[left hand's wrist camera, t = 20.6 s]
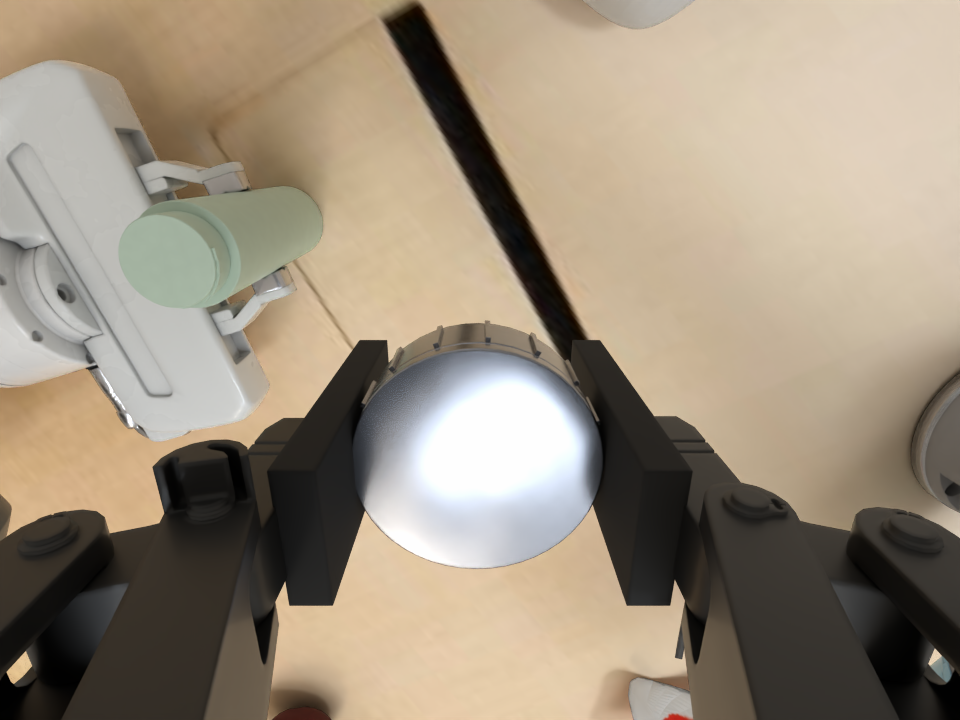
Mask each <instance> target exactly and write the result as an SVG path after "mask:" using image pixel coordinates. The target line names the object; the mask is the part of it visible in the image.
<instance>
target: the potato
mask: <svg viewBox="0 0 960 720" xmlns="http://www.w3.org/2000/svg"><path fill="white" fill-rule="evenodd" d="M272 720H331V719H330V718H329V717H328V716H327V715H326V714H325V713H324V712H322V711H321V710H318V709H315V708H310V707H301V708H294V709H288V710H286V711H284V712H282V713H280V714H278V715H277V716H276V717H275V718H273V719H272Z"/></svg>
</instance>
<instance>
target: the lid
mask: <svg viewBox="0 0 960 720" xmlns="http://www.w3.org/2000/svg"><path fill="white" fill-rule="evenodd" d="M360 407H361V408H363V410H362V412H361V415H360V417H359V419H358V421H357V423H356V426H355V430H354V433H353V436H352V452H353V462H354V472H355V482H356V491H357V495H358V497H359V500H360V502H361V504H362V506H363V508H364V509H365V511H366V512H367V514H368V515H369V517H370V518H371V520H372V521H373V522H374V523H375V524H376V525H377V527H378V528H379V529H380V530H381V531H382V532H383V533H384V534H385V535H386V536H388V537H389V538H390V539H391V540H392V541H394V542H395V543H396V544H398V545H399V546H401V547H402V548H404V549H405V550H407V551H409V552H411V553H413V554H415V555H417V556H419V557H421V558H424V559H426V560H429V561H432V562H435V563H439V564H442V565H446V566H452V567H458V568H469V569H486V568H496V567H503V566H508V565H512V564H516V563H520V562H523V561H525V560H528V559H531V558H534V557H536V556H538V555H540V554H542V553H544V552H546V551H548V550H549V549H551V548H552V547H554V546H555V545H557V544H558V543H560V542H561V541H562V540H563V539H565V538H566V537H567V536H568V535H569V534H570V533H572V531H573V530H574V529H575V528H576V527H577V526H578V525H579V524H580V523H581V522H582V520H583V519H584V517H585V516H586V514H587V513H588V512H589V510H590V508H591V506H592V504H593V502H594V501H595V499H596V496H597V493H598V490H599V488H600V485H601V481H602V475H603V470H604V448H603V440H602V436H601V432H600V429H599V425H601V423H600V420H599V418H598V416H597V414H596V412H595V410H594V408H593V406H592V403H591V401H590V399H589V397H585V395H584V393H583V390H582V388H581V386H580V382H579V380H578V378H577V376H576V374H575V371H574V369H573V367H572V365H571V363H570V362H569V361H568V360H566V361H564V360H563V359H562V358H561V357H560V356H559V355H558V354H557V353H556V352H555V351H553V350H552V349H551V348H550V347H549V346H547V345H546V344H544V343H543V342H541V341H540V340H538V339H537V338H536V335H535V334H534V333H532V332H531V334H530V335H528V334H526V333H524V332H521V331H518V330H516V329H513V328H510V327H505V326H500V325H495V324H490V321H485V324H483V323H472V324H460V325H455V326H449V327H445V328H443V327H442V325H441V326H438V327H437V330H436V331H433V332H431V333H429V334H426V335H424V336H422V337H420V338H418V339H417V340H415V341H414V342H412V343H410V344H409V345H407V346H406V347H405V348H404V349H402V347H399V348H398V349H397V351H396V353H395V355H394V358H393V359H392V360H391V361H390V362H389V363H388V364H387V366H386V367H385V369H384V370H383V372H382V373H381V375H380V376H379V378H378V380H377V382H376V381H372V383H371V385H370V387H369V389H368V391H367V393H366V395H365V397H364V399H363V401H362V403H361V405H360Z"/></svg>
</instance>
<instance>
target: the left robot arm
mask: <svg viewBox="0 0 960 720" xmlns="http://www.w3.org/2000/svg"><path fill="white" fill-rule="evenodd" d="M388 363H389V362H388V347H387V340H360V341H359V342H358V343H357V345H356V346H355V348H354V349H353V350H352V352H351V353H350V355H349V356H348V357H347V359H346V360H345V362H344V363H343V364H342V366H341V367H340V369H339V370H338V372H337V373H336V374H335V376H334V377H333V379H332V380H331V381H330V383H329V384H328V386H327V387H326V388H325V390H324V391H323V393H322V394H321V395H320V397H319V398H318V400H317V401H316V402H315V404H314V405H313V407H312V408H311V410H310V411H309V412H308V414H307V415H306V417H305V418H283V419H281V420H280V421H278V422H276V423H275V424H273V425H271V426H270V427H268V428H266V429H265V430H264V431H263V432H262V434H261V435H260V436H259V437H258V438H257V440H256V441H255V444H252V446H251V447H250V448H249V449H247V447H246V446H244V445H243V444H242V443H240V442H236V441H231V440H209V441H204V442H199V443H194V444H191V445H188V446H185V447H182V448H179V449H177V450H175V451H173V452H171V453H169V454H168V455H166V456H164V457H162V458H161V459H160V460H159V461H158V462H157V463H156V464H155V465H154V466H153V471H154V475H155V479H156V482H157V486H158V490H159V494H160V498H161V502H162V506H163V509H164V515H163V517H162V519H161V521H160V523H159V524H155V525H151V526H146V527H141V528H136V529H131V530H125V531H120V532H115V533H109V530H108V527H107V523H106V520H105V517H104V516H102V515H101V514H100V513H98V512H97V511H89V510H75V511H67V512H66V511H64V512H59V513H54V515H48V516H45V517H42V518H39V519H38V520H37V521H34V522H32V523H30V524H28V525H25V526H23V527H21V528H20V529H18V530H16V531H15V532H13V533H12V534H10V535H9V536H7V537H5V538H4V539H3V540H1V541H0V720H267V715H268V707H269V699H270V691H271V683H272V675H273V667H274V659H275V651H276V643H277V635H278V627H279V622H278V615H277V609H276V604H275V601H276V599H277V597H278V595H279V593H280V591H281V589H282V587H283V585H284V582H286V588H287V594H288V600H289V606H333V604H334V601H335V598H336V595H337V592H338V589H339V586H340V583H341V580H342V577H343V574H344V571H345V568H346V565H347V562H348V559H349V556H350V553H351V550H352V547H353V544H354V542H355V539H356V536H357V533H358V530H359V527H360V524H361V521H362V518H363V515H364V512H365V509H364V508H363V506H362V504H361V502H360V500H359V497H358V495H357V491H356V482H355V472H354V462H353V452H352V436H353V433H354V430H355V426H356V423H357V421H358V419H359V417H360V415H361V412H362V410H363V408H361V407H360V405H361V403H362V401H363V399H364V397H365V395H366V393H367V391H368V389H369V387H370V385H371V383H372V381H376V382H377V380H378V378H379V376H380V375H381V373H382V372H383V370H384V369H385V367H386V366H387V364H388ZM571 365H572V367H573V369H574V371H575V374H576V376H577V378H578V380H579V382H580V386H581V388H582V390H583V393H584V395H585V397H589V399H590V401H591V403H592V406H593V408H594V410H595V412H596V414H597V416H598V418H599V420H600V423H601V425H599V429H600V432H601V436H602V440H603V448H604V470H603V475H602V481H601V485H600V488H599V490H598V493H597V496H596V499H595V501H594V502H593V507H594V510H595V513H596V516H597V519H598V522H599V525H600V528H601V531H602V534H603V537H604V540H605V542H606V545H607V548H608V551H609V554H610V557H611V560H612V563H613V566H614V569H615V572H616V575H617V578H618V581H619V584H620V587H621V590H622V593H623V596H624V599H625V602H626V605H627V606H670V604H671V598H672V592H673V586H674V580H675V581H676V583H677V585H678V587H679V589H680V591H681V593H682V595H683V597H684V599H685V604H684V609H683V615H682V620H681V626H680V631H679V637H678V642H677V648H676V655H675V658H678V659H682V657H683V652H684V650H685V658H686V666H687V674H688V682H689V690H690V698H691V706H692V714H693V720H960V538H959V537H957V536H956V535H954V534H953V533H951V532H950V531H948V530H946V529H945V528H943V527H942V526H940V525H938V524H936V523H934V522H932V521H929V520H927V519H925V518H923V517H922V516H920V515H917V514H914V513H911V512H909V513H907V512H906V511H903V510H899V509H889V508H880V507H876V508H868V509H863V510H862V511H860V512H859V513H857V514H856V516H855V519H854V522H853V525H852V529H851V531H846V530H841V529H836V528H831V527H826V526H821V525H815V524H810V523H806V522H802V521H800V520H799V518H798V516H797V514H796V512H795V511H794V510H793V509H792V508H791V506H790V505H789V504H788V503H787V502H786V501H784V500H783V499H781V498H780V497H778V496H777V495H775V494H774V493H772V492H769V491H767V490H764V489H762V488H760V487H757V486H753V485H748V484H744V483H741V482H740V481H739V480H738V478H737V477H736V476H735V475H734V474H733V473H732V471H731V470H730V469H729V468H728V467H727V465H726V464H725V463H724V462H723V461H722V459H721V458H720V457H719V456H718V455H717V453H714V450H713V449H712V447H711V446H710V445H709V444H708V443H705V439H704V438H703V437H702V436H701V434H700V433H699V432H698V431H697V430H696V428H695V427H693V426H692V425H690V424H688V423H686V422H685V421H683V420H681V419H680V418H678V417H676V416H653V414H652V413H651V411H650V410H649V409H648V407H647V406H646V404H645V403H644V402H643V400H642V399H641V397H640V396H639V395H638V393H637V392H636V390H635V389H634V387H633V386H632V385H631V383H630V382H629V380H628V379H627V378H626V376H625V375H624V373H623V372H622V371H621V369H620V368H619V366H618V365H617V364H616V362H615V361H614V359H613V358H612V357H611V355H610V354H609V352H608V351H607V349H606V348H605V347H604V345H603V344H602V342H601V341H600V340H573V342H572V357H571ZM911 461H912V467H913V471H914V474H915V476H916V478H917V480H918V482H919V483H920V485H921V486H922V487H923V488H924V489H925V490H926V491H927V492H928V493H929V494H931V495H932V496H933V497H935V498H936V499H938V500H939V501H940V502H942V503H943V504H945V505H946V506H948V507H949V508H951V509H953V510H955V511H957V512H959V513H960V373H959V374H958V375H956V376H955V377H954V378H953V379H951V380H950V381H949V382H948V383H947V384H946V385H945V386H944V387H943V388H942V389H941V390H940V391H939V393H938V394H937V395H936V396H935V397H934V399H933V400H932V401H931V402H930V404H929V405H928V407H927V408H926V410H925V411H924V413H923V415H922V417H921V418H920V421H919V423H918V425H917V427H916V430H915V433H914V437H913V441H912V447H911ZM934 648H935V649H936V650H937V651H938V652H939V653H940V654H941V655H942V657H940V658H939V659H938V660H937V661H936V662H934V663H933V664H932V665H931V666H929V664H928V663H929V660H930V658H931V656H932V653H933V651H934ZM25 651H26V652H27V654H28V657H29V659H30V662H31V664H32V667H31V668H30V669H29V671H28V672H27V673H26V674H25V675H24V676H23V677H22V678H21V679H20V680H18V681H17V682H16V683H15V684H13V683H12V682H11V681H10V679H9V677H8V675H7V673H6V672H7V671H8V669H9V668H10V667H11V666H12V665H13V664H14V663H15V662H16V661H17V660H18V659H19V658H20V656H21V655H22V654H23V653H24V652H25Z"/></svg>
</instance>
